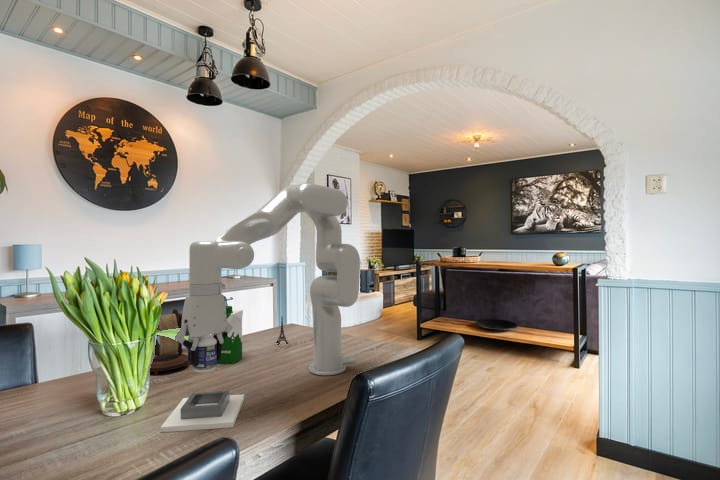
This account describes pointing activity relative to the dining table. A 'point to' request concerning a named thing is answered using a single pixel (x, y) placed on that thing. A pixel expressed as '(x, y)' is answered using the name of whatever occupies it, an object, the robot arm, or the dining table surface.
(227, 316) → the milk carton
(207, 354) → the pill bottle
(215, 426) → the socket board
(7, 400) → the dining table surface
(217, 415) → the socket collar
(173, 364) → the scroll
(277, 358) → the dining table surface
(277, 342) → the eiffel tower figurine
